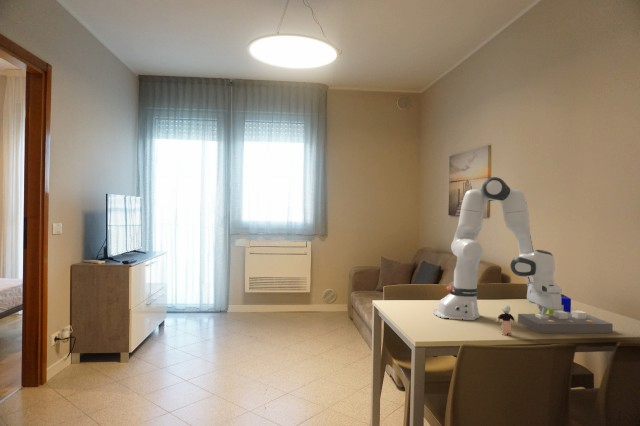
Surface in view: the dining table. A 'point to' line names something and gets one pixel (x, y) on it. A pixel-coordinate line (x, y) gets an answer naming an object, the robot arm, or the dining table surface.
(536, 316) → the button
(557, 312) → the button middle
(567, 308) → the puzzle toy
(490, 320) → the dining table surface
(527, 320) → the button board
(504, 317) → the grandmother figurine
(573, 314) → the button
